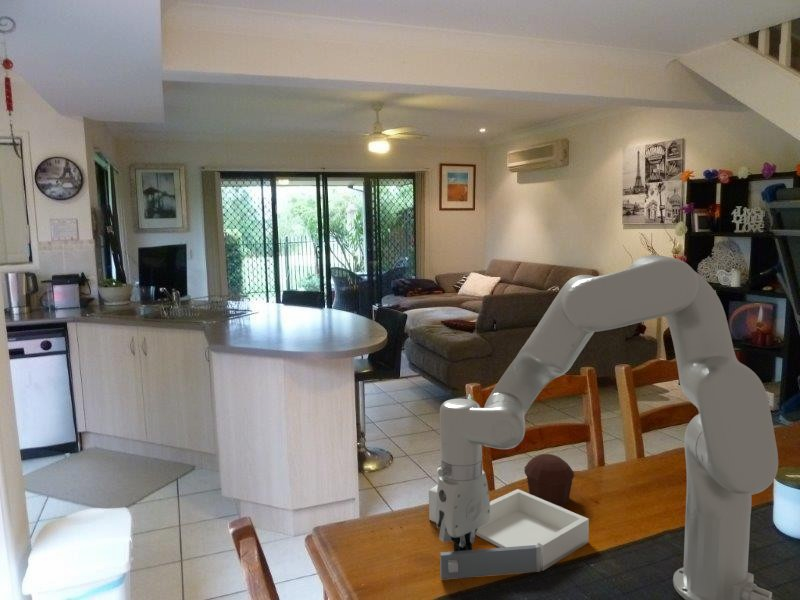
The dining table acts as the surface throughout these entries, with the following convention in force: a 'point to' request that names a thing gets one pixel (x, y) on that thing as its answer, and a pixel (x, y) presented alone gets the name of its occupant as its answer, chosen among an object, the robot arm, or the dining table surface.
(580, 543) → the case
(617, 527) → the dining table surface
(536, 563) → the side door
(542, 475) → the muffin
